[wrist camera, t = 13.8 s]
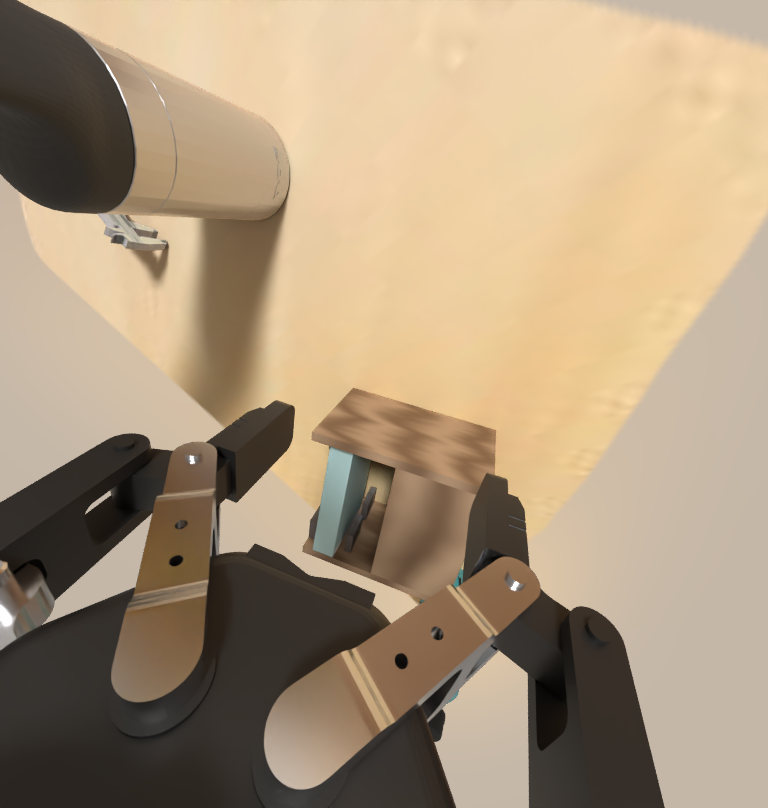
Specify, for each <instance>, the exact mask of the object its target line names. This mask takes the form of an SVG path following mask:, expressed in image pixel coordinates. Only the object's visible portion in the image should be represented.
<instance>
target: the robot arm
mask: <svg viewBox="0 0 768 808" xmlns="http://www.w3.org/2000/svg"><path fill="white" fill-rule="evenodd" d="M0 174H1V175H2V176H3V177H4V178H5V179H6V180H7V181H8V182H9V183H10V184H11V185H12V186H13V187H14V188H15V189H17V190H18V191H19V192H20V193H22V194H23V195H24V196H26V197H27V198H29V199H30V200H32V201H34V202H36V203H38V204H40V205H42V206H44V207H47V208H50V209H53V210H58V211H63V212H72V213H91V214H119V215H147V216H169V217H192V218H214V219H233V220H263V219H266V218H269V217H270V216H272V215H273V214H275V213H276V212H277V211H278V209H279V208H280V207H281V206H282V204H283V202H284V200H285V198H286V194H287V191H288V187H289V178H290V175H289V163H288V158H287V154H286V151H285V148H284V146H283V143H282V141H281V139H280V138H279V136H278V134H277V132H276V131H275V130H274V129H273V128H272V126H271V125H270V124H269V123H268V122H266V121H265V120H264V119H263V118H261V117H259V116H257V115H255V114H253V113H251V112H249V111H247V110H245V109H243V108H241V107H238V106H236V105H234V104H232V103H231V102H229V101H227V100H224V99H222V98H220V97H218V96H216V95H214V94H212V93H210V92H208V91H205V90H203V89H201V88H199V87H197V86H195V85H193V84H191V83H189V82H187V81H184V80H182V79H180V78H178V77H176V76H174V75H172V74H170V73H168V72H165V71H163V70H161V69H159V68H157V67H155V66H153V65H151V64H149V63H147V62H144V61H142V60H140V59H138V58H136V57H134V56H132V55H130V54H128V53H125V52H123V51H121V50H119V49H117V48H114V47H112V46H110V45H108V44H106V43H104V42H102V41H100V40H97V39H95V38H93V37H91V36H89V35H87V34H85V33H83V32H81V31H78V30H76V29H74V28H72V27H70V26H68V25H66V24H63V23H62V22H59V21H57V20H55V19H53V18H51V17H49V16H47V15H44V14H42V13H40V12H38V11H36V10H34V9H32V8H30V7H28V6H26V5H25V4H23V3H21V2H19V1H17V0H0ZM294 415H295V408H294V406H292V405H289V404H286V403H283V402H280V401H277V400H276V401H274V402H272V403H271V404H270V405H268V406H267V407H266V408H265V409H264V408H258V409H255V410H252V411H249V412H247V413H246V414H244V415H243V416H242V417H240V418H239V420H236V421H235V422H233V423H232V425H229V426H228V427H227V428H225V429H224V430H223V431H221V432H220V433H218V434H217V435H216V436H214V437H213V438H211V439H210V440H209V441H207V442H206V443H205V442H191V443H187V444H184V445H181V446H180V447H178V448H176V449H175V450H174V451H169V450H160V449H151V446H150V441H149V439H148V438H147V437H146V436H144V435H140V434H122V435H118V436H114V437H112V438H110V439H108V440H106V441H104V442H102V443H101V444H99V445H97V446H96V447H94V448H92V449H90V450H89V451H87V452H85V453H84V454H82V455H80V456H79V457H77V458H75V459H74V460H72V461H70V462H68V463H67V464H65V465H63V466H62V467H60V468H58V469H56V470H55V471H53V472H51V473H50V474H48V475H46V476H45V477H43V478H41V479H40V480H38V481H36V482H34V483H33V484H31V485H29V486H28V487H26V488H24V489H23V490H21V491H20V492H17V493H16V494H14V495H13V496H11V497H9V498H7V499H6V500H4V501H2V502H0V808H456V806H455V803H454V800H453V797H452V794H451V791H450V788H449V785H448V782H447V779H446V776H445V773H444V770H443V767H442V764H441V761H440V758H439V755H438V752H437V749H436V746H435V743H434V740H433V737H432V734H431V731H430V728H429V725H428V722H429V721H430V720H431V719H432V718H433V717H434V716H435V715H436V714H437V713H438V712H439V711H440V710H441V709H442V708H443V707H444V706H445V705H446V704H447V703H448V702H449V701H450V700H451V698H452V697H453V696H454V695H455V694H456V693H457V691H458V690H459V689H460V688H461V687H462V686H463V685H464V684H465V683H466V682H467V681H468V680H469V679H470V678H471V677H472V676H473V675H474V674H475V673H476V672H477V671H478V670H480V669H481V668H482V667H483V666H484V665H485V664H486V663H487V662H488V660H490V659H491V658H492V657H493V656H494V655H495V654H496V653H497V652H498V651H501V652H502V653H503V654H504V655H506V656H507V657H508V658H510V659H511V660H512V661H513V662H514V663H516V664H517V665H518V666H519V667H521V668H522V669H523V670H524V671H526V672H527V673H528V735H529V736H528V740H529V741H528V742H529V808H665V807H664V803H663V799H662V795H661V791H660V787H659V783H658V779H657V774H656V770H655V767H654V763H653V759H652V754H651V750H650V746H649V742H648V738H647V734H646V730H645V726H644V722H643V717H642V713H641V709H640V705H639V701H638V697H637V693H636V689H635V686H634V681H633V677H632V673H631V669H630V665H629V660H628V657H627V653H626V648H625V645H624V642H623V640H622V637H621V635H620V634H619V632H618V631H617V629H616V628H615V627H614V625H613V624H612V623H611V622H610V621H609V620H608V619H607V618H606V617H604V616H603V615H602V614H600V613H598V612H597V611H595V610H593V609H591V608H588V607H582V606H581V607H576V608H574V609H573V610H572V611H569V610H568V609H566V608H565V607H563V606H562V605H560V604H559V603H558V602H556V601H554V600H553V599H552V598H550V597H549V596H548V595H547V594H545V593H544V592H543V591H542V590H541V588H540V583H539V580H538V578H537V576H536V575H535V573H534V572H533V571H532V570H531V569H530V567H529V556H528V545H527V534H526V523H525V511H524V508H523V506H522V504H521V502H520V501H519V499H518V497H516V496H513V495H510V494H508V481H507V479H505V478H502V477H499V476H496V475H493V474H490V473H486V475H485V477H484V479H483V481H482V483H481V485H480V488H479V490H478V492H477V494H476V497H475V499H474V501H473V504H472V506H471V510H470V514H469V521H468V531H467V540H466V550H465V559H464V569H463V579H462V584H461V585H460V586H458V587H456V588H455V587H454V585H452V584H451V585H448V586H446V587H445V588H443V589H441V590H440V591H439V592H437V593H436V594H434V595H433V596H431V597H430V598H428V599H427V600H425V601H424V602H422V603H421V604H419V605H418V606H417V607H415V608H414V609H412V610H411V611H409V612H408V613H406V614H405V615H403V616H402V617H400V618H399V619H398V620H396V621H394V622H393V623H390V622H389V621H388V619H387V618H386V617H385V616H384V615H383V614H382V612H381V611H380V610H378V609H377V608H376V607H375V606H373V605H372V604H373V601H374V597H375V594H374V593H372V592H369V591H367V590H365V589H362V588H360V587H358V586H355V585H353V584H350V583H348V582H346V581H341V580H334V579H328V578H321V577H314V576H310V575H308V574H306V573H305V572H304V571H302V570H301V569H300V568H299V567H297V566H296V565H295V564H294V563H292V562H291V561H290V560H288V559H287V558H286V557H285V556H283V555H281V554H279V553H276V552H274V551H272V550H269V549H267V548H264V547H262V546H260V545H257V544H254V545H253V547H252V548H251V549H250V551H249V552H248V553H247V552H230V553H224V554H219V536H220V503H222V502H223V501H224V500H225V499H229V500H231V501H234V502H238V501H239V500H240V499H241V498H242V497H243V496H244V495H245V493H246V492H247V491H248V490H249V489H250V488H251V487H252V486H253V485H254V484H255V483H256V482H257V481H258V480H259V479H260V478H261V477H262V475H264V473H266V472H267V471H268V470H269V468H270V467H271V466H272V465H273V464H274V463H275V462H276V461H277V460H278V459H279V458H280V457H281V456H282V455H283V454H284V453H285V452H286V451H287V449H288V448H289V446H290V444H291V442H292V438H293V428H294ZM108 491H111V496H109V497H108V498H107V499H105V500H104V501H103V502H101V503H100V504H99V505H98V506H96V507H95V508H93V509H92V510H91V511H89V512H88V513H87V514H85V513H86V511H87V509H88V507H89V506H90V505H91V504H92V503H93V502H95V501H96V500H97V499H99V498H100V497H101V496H103V495H104V494H105V493H107V492H108ZM151 513H152V517H151V522H150V526H149V530H148V535H147V539H146V543H145V548H144V552H143V557H142V561H141V565H140V569H139V574H138V578H137V583H136V587H135V588H132V589H130V590H127V591H125V592H122V593H120V594H118V595H115V596H113V597H110V598H108V599H105V600H103V601H100V602H98V603H95V604H93V605H90V606H88V607H86V608H83V609H80V610H78V611H75V612H73V613H70V614H68V615H65V616H63V617H60V618H58V619H56V620H53V621H51V622H48V623H46V624H43V623H44V622H45V621H46V619H47V618H48V617H49V616H50V614H51V612H52V610H53V607H54V602H55V600H56V599H57V598H58V597H59V596H60V595H61V594H63V593H64V592H65V591H66V590H67V589H68V588H69V587H70V586H72V585H73V584H74V583H75V582H76V581H77V580H78V579H79V578H80V577H81V576H83V575H84V574H85V573H86V572H87V571H88V570H89V569H90V568H91V567H93V566H94V565H95V564H96V563H97V562H98V561H99V560H100V559H102V558H103V557H104V556H105V555H106V554H107V553H108V552H109V551H110V550H111V549H112V548H114V547H115V546H116V545H117V544H118V543H119V542H121V541H122V540H123V539H124V538H125V537H126V536H127V535H128V534H129V533H131V531H133V530H134V529H135V528H136V527H137V526H138V525H139V524H140V523H142V522H143V521H144V520H145V519H146V518H147V517H148V516H149V515H151ZM42 624H43V625H42Z"/></svg>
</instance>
